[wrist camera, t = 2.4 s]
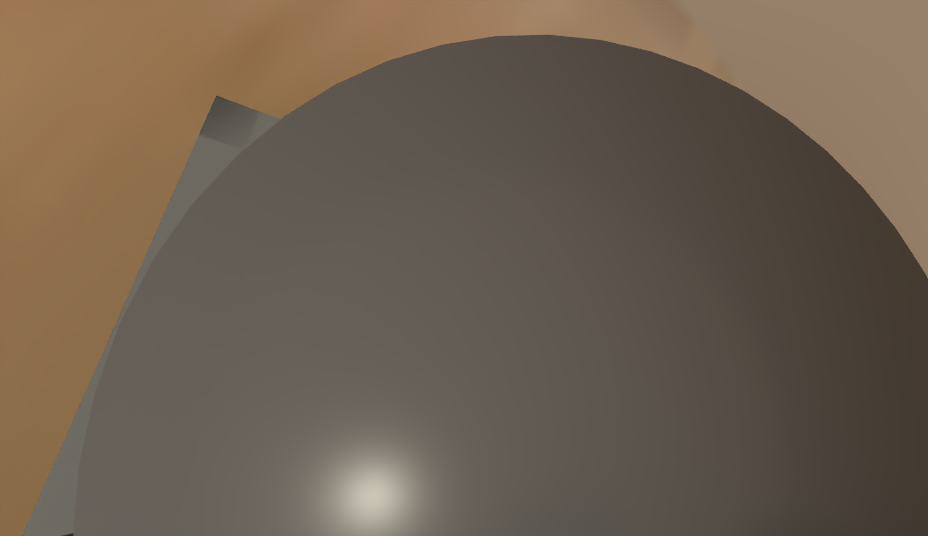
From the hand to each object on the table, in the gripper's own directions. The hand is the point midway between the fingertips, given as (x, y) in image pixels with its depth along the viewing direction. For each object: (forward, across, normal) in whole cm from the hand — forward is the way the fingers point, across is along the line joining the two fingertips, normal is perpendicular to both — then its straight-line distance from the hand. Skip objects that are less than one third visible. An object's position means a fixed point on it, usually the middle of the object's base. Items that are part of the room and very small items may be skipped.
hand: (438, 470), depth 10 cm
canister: (+6, 0, +6) cm, 8 cm away
